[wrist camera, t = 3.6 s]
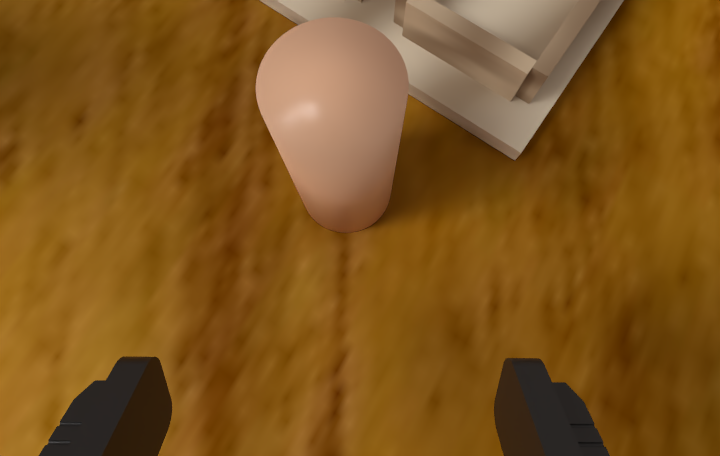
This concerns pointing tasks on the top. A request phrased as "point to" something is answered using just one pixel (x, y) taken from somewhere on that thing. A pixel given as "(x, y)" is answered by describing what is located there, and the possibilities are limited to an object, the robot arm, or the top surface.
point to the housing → (480, 54)
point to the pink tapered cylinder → (336, 117)
